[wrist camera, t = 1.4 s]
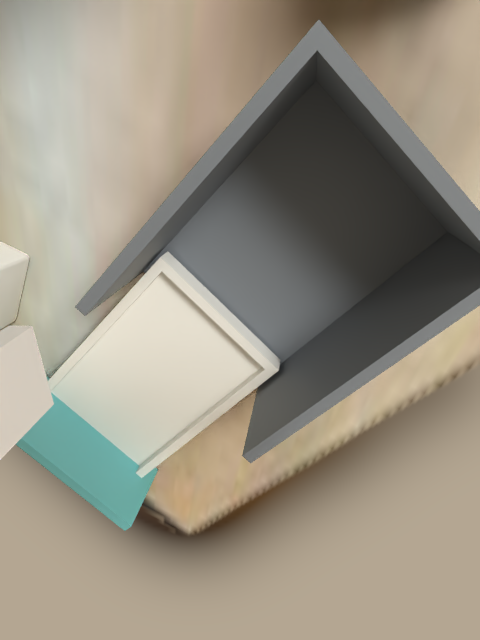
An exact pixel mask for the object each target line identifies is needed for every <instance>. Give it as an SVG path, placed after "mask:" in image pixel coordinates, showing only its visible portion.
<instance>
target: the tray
mask: <svg viewBox="0 0 480 640" xmlns="http://www.w3.org/2000/svg"><path fill="white" fill-rule="evenodd" d="M279 366H280V359H279V358H278V357H277V356H276V355H275V354H274V353H273V352H272V351H271V350H270V349H269V348H268V347H267V346H266V345H265V344H263V343H262V342H261V341H260V340H259V339H258V338H257V337H256V336H255V335H254V334H253V333H252V332H251V331H250V330H249V329H248V328H247V327H246V326H245V325H244V324H243V323H242V322H241V321H240V320H239V319H238V318H237V317H236V316H235V315H233V314H232V313H231V312H230V311H229V310H228V309H227V308H226V307H225V306H224V305H223V304H222V303H221V302H220V301H219V300H218V299H217V298H216V297H215V296H214V295H213V294H212V293H211V292H210V291H209V290H208V289H207V288H206V287H204V286H203V285H202V284H201V283H200V282H199V281H198V280H197V279H196V278H195V277H194V276H193V275H192V274H191V273H190V272H189V271H188V270H187V269H186V268H185V267H184V266H183V265H182V264H181V263H180V262H179V261H178V260H177V259H176V258H174V257H173V256H172V255H171V254H170V253H169V252H166V253H165V254H164V255H162V256H161V257H160V258H159V259H158V260H157V261H156V262H155V264H154V265H153V266H152V267H151V268H150V269H149V270H148V271H147V272H146V273H145V275H144V276H143V277H142V278H141V279H140V280H139V281H138V282H137V283H136V284H135V286H134V287H133V288H132V289H131V290H130V291H129V292H128V293H127V294H126V295H125V297H124V298H123V299H122V300H121V301H120V302H119V303H118V304H117V305H116V306H115V308H114V309H113V310H112V311H111V312H110V313H109V314H108V315H107V316H106V317H105V319H104V320H103V321H102V322H101V323H100V324H99V325H98V326H97V327H96V328H95V330H94V331H93V332H92V333H91V334H90V335H89V336H88V337H87V338H86V340H85V341H84V342H83V343H82V344H81V345H80V346H79V347H78V348H77V349H76V351H75V352H74V353H73V354H72V355H71V356H70V357H69V358H68V359H67V360H66V362H65V363H64V364H63V365H62V366H61V367H60V368H59V369H58V370H57V371H56V373H55V374H54V375H53V376H52V377H51V378H48V377H47V376H46V377H47V380H48V384H49V388H50V391H51V395H52V398H53V402H54V405H53V406H52V407H51V408H50V409H49V410H48V411H47V412H46V413H45V414H44V415H43V416H42V417H41V418H40V419H39V420H38V421H37V422H36V423H35V424H34V425H33V426H32V428H31V429H30V430H29V431H28V432H27V433H26V434H25V435H24V436H23V437H22V438H21V439H20V440H19V441H18V442H17V443H16V445H17V446H18V447H20V448H21V449H22V450H23V451H25V452H26V453H27V454H28V455H30V456H31V457H32V458H33V459H35V460H36V461H37V462H38V463H40V464H41V465H42V466H44V467H45V468H46V469H47V470H49V471H50V472H51V473H52V474H54V475H55V476H56V477H57V478H59V479H60V480H61V481H62V482H64V483H65V484H66V485H67V486H69V487H70V488H71V489H73V490H74V491H75V492H76V493H78V494H79V495H80V496H81V497H83V498H84V499H85V500H86V501H88V502H89V503H90V504H91V505H93V506H94V507H95V508H96V509H98V510H99V511H100V512H102V513H103V514H104V515H105V516H107V517H108V518H109V519H110V520H112V521H113V522H114V523H115V524H117V525H118V526H119V527H121V528H122V529H123V530H124V531H125V530H127V529H128V528H130V527H131V526H132V524H133V522H134V520H135V517H136V515H137V513H138V511H139V509H140V507H141V505H142V503H143V501H144V499H145V496H146V494H147V492H148V490H149V488H150V486H151V484H152V482H153V480H154V477H155V475H156V473H157V471H158V469H157V468H156V466H158V465H159V464H160V463H162V462H163V461H164V460H165V459H167V458H168V457H169V456H170V455H172V454H173V453H174V452H176V451H177V450H178V449H179V448H181V447H182V446H183V445H184V444H186V443H187V442H188V441H190V440H191V439H192V438H193V437H195V436H196V435H197V434H198V433H200V432H201V431H202V430H204V429H205V428H206V427H207V426H209V425H210V424H211V423H213V422H214V421H215V420H216V419H218V418H219V417H220V416H221V415H223V414H224V413H225V412H227V411H228V410H229V409H230V408H232V407H233V406H234V405H235V404H237V403H238V402H239V401H241V400H242V399H243V398H244V397H246V396H247V395H248V394H249V393H251V392H252V391H253V390H255V389H256V388H257V387H258V386H260V385H261V384H262V383H263V382H265V381H266V380H267V379H269V378H270V377H271V376H272V375H274V374H275V373H276V372H278V371H279Z"/></svg>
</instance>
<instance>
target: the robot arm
mask: <svg viewBox="0 0 480 640" xmlns="http://www.w3.org/2000/svg"><path fill="white" fill-rule="evenodd" d="M53 405H54V402H53V398H52V395H51V391H50V388H49V384H48V380H47V377H46V373H45V370H44V366H43V362H42V359H41V355H40V352H39V348H38V344H37V341H36V337H35V334H34V330H33V326H10V325H9V326H8V327H6V328H4V329H3V330H1V331H0V460H1V459H2V458H3V457H4V456H5V455H6V453H7V452H8V451H9V450H10V449H11V448H12V447H13V446H14V445H15V444H16V443H17V442H18V441H19V440H20V439H21V438H22V437H23V436H24V435H25V434H26V433H27V432H28V431H29V430H30V429H31V428H32V426H33V425H34V424H35V423H36V422H37V421H38V420H39V419H40V418H41V417H42V416H43V415H44V414H45V413H46V412H47V411H48V410H49V409H50V408H51V407H52V406H53Z"/></svg>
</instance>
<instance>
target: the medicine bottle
mask: <svg viewBox="0 0 480 640" xmlns="http://www.w3.org/2000/svg"><path fill="white" fill-rule="evenodd" d="M29 259H30V258H29V255H28V254H26V253H24V252H22V251H20V250H18V249H16V248H14V247H12V246H9V245H7V244H5V243H3V242H1V241H0V329H2V328H4V327H5V326H7V325H9V324H10V323H12V322H14V321H15V320H16V318H17V314H18V309H19V304H20V300H21V295H22V291H23V286H24V282H25V277H26V273H27V268H28V264H29Z"/></svg>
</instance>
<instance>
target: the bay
mask: <svg viewBox="0 0 480 640" xmlns="http://www.w3.org/2000/svg"><path fill="white" fill-rule="evenodd" d="M166 252H169V253H170V254H171V255H172V256H173V257H174V258H176V259H177V260H178V261H179V262H180V263H181V264H182V265H183V266H184V267H185V268H186V269H187V270H188V271H189V272H190V273H191V274H192V275H193V276H194V277H195V278H196V279H197V280H198V281H199V282H200V283H201V284H202V285H203V286H204V287H206V288H207V289H208V290H209V291H210V292H211V293H212V294H213V295H214V296H215V297H216V298H217V299H218V300H219V301H220V302H221V303H222V304H223V305H224V306H225V307H226V308H227V309H228V310H229V311H230V312H231V313H232V314H233V315H235V316H236V317H237V318H238V319H239V320H240V321H241V322H242V323H243V324H244V325H245V326H246V327H247V328H248V329H249V330H250V331H251V332H252V333H253V334H254V335H255V336H256V337H257V338H258V339H259V340H260V341H261V342H262V343H263V344H265V345H266V346H267V347H268V348H269V349H270V350H271V351H272V352H273V353H274V354H275V355H276V356H277V357H278V358H279V359H280V366H279V371H278V372H276V373H275V374H274V375H272V376H271V377H270V378H269V379H267V380H266V381H265V382H263V383H262V384H261V385H260V386H258V389H257V393H256V398H255V402H254V407H253V411H252V415H251V420H250V424H249V428H248V433H247V437H246V442H245V446H244V450H243V455H242V456H243V457H244V458H245V459H246V460H247V461H249V462H250V463H252V462H253V461H255V460H256V459H257V458H259V457H260V456H262V455H263V454H265V453H266V452H268V451H269V450H270V449H272V448H273V447H275V446H276V445H278V444H279V443H281V442H282V441H284V440H285V439H286V438H288V437H289V436H291V435H292V434H294V433H295V432H297V431H298V430H300V429H301V428H302V427H304V426H305V425H307V424H308V423H310V422H311V421H313V420H314V419H315V418H317V417H318V416H320V415H321V414H323V413H324V412H326V411H327V410H329V409H330V408H331V407H333V406H334V405H336V404H337V403H339V402H340V401H342V400H343V399H344V398H346V397H347V396H349V395H350V394H352V393H353V392H355V391H356V390H358V389H359V388H360V387H362V386H363V385H365V384H366V383H368V382H369V381H371V380H372V379H373V378H375V377H376V376H378V375H379V374H381V373H382V372H384V371H385V370H387V369H388V368H389V367H391V366H392V365H394V364H395V363H397V362H398V361H400V360H401V359H403V358H404V357H405V356H407V355H408V354H410V353H411V352H413V351H414V350H416V349H417V348H418V347H420V346H421V345H423V344H424V343H426V342H427V341H429V340H430V339H432V338H433V337H434V336H436V335H437V334H439V333H440V332H442V331H443V330H445V329H446V328H447V327H449V326H450V325H452V324H453V323H455V322H456V321H458V320H459V319H461V318H462V317H463V316H465V315H466V314H468V313H469V312H471V311H472V310H474V309H475V308H477V307H478V306H479V305H480V211H479V210H478V209H477V208H476V206H475V205H474V204H473V203H472V202H471V200H470V199H469V198H468V197H467V196H466V194H465V193H464V192H463V191H462V190H461V189H460V187H459V186H458V185H457V184H456V183H455V181H454V180H453V179H452V178H451V177H450V175H449V174H448V173H447V172H446V171H445V169H444V168H443V167H442V166H441V165H440V163H439V162H438V161H437V160H436V159H435V157H434V156H433V155H432V154H431V153H430V152H429V150H428V149H427V148H426V147H425V146H424V144H423V143H422V142H421V141H420V140H419V138H418V137H417V136H416V135H415V134H414V132H413V131H412V130H411V129H410V128H409V126H408V125H407V124H406V123H405V122H404V120H403V119H402V118H401V117H400V116H399V114H398V113H397V112H396V111H395V110H394V109H393V107H392V106H391V105H390V104H389V103H388V101H387V100H386V99H385V98H384V97H383V95H382V94H381V93H380V92H379V91H378V89H377V88H376V87H375V86H374V85H373V83H372V82H371V81H370V80H369V79H368V77H367V76H366V75H365V74H364V73H363V71H362V70H361V69H360V68H359V67H358V66H357V64H356V63H355V62H354V61H353V60H352V58H351V57H350V56H349V55H348V54H347V52H346V51H345V50H344V49H343V48H342V46H341V45H340V44H339V43H338V42H337V40H336V39H335V38H334V37H333V36H332V34H331V33H330V32H329V31H328V30H327V29H326V27H325V26H324V25H323V24H322V23H321V21H320V20H318V21H317V22H316V23H315V24H314V26H313V27H312V28H311V29H310V30H309V31H308V33H307V34H306V35H305V36H304V37H303V39H302V40H301V41H300V42H299V43H298V44H297V46H296V47H295V48H294V49H293V50H292V52H291V53H290V54H289V55H288V56H287V57H286V59H285V60H284V61H283V62H282V63H281V64H280V66H279V67H278V68H277V69H276V70H275V72H274V73H273V74H272V75H271V76H270V77H269V79H268V80H267V81H266V82H265V83H264V85H263V86H262V87H261V88H260V89H259V90H258V92H257V93H256V94H255V95H254V96H253V98H252V99H251V100H250V101H249V102H248V103H247V105H246V106H245V107H244V108H243V109H242V110H241V112H240V113H239V114H238V115H237V116H236V118H235V119H234V120H233V121H232V122H231V123H230V125H229V126H228V127H227V128H226V129H225V131H224V132H223V133H222V134H221V135H220V136H219V138H218V139H217V140H216V141H215V142H214V144H213V145H212V146H211V147H210V148H209V149H208V151H207V152H206V153H205V154H204V155H203V156H202V158H201V159H200V160H199V161H198V162H197V164H196V165H195V166H194V167H193V168H192V169H191V171H190V172H189V173H188V174H187V175H186V177H185V178H184V179H183V180H182V181H181V182H180V184H179V185H178V186H177V187H176V188H175V190H174V191H173V192H172V193H171V194H170V195H169V197H168V198H167V199H166V200H165V201H164V202H163V204H162V205H161V206H160V207H159V208H158V210H157V211H156V212H155V213H154V214H153V215H152V217H151V218H150V219H149V220H148V221H147V223H146V224H145V225H144V226H143V227H142V228H141V230H140V231H139V232H138V233H137V234H136V236H135V237H134V238H133V239H132V240H131V241H130V243H129V244H128V245H127V246H126V247H125V248H124V250H123V251H122V252H121V253H120V254H119V256H118V257H117V258H116V259H115V260H114V261H113V263H112V264H111V265H110V266H109V267H108V269H107V270H106V271H105V272H104V273H103V274H102V276H101V277H100V278H99V279H98V280H97V282H96V283H95V284H94V285H93V286H92V287H91V289H90V290H89V291H88V292H87V293H86V294H85V296H84V297H83V298H82V299H81V300H80V302H79V303H78V304H77V305H76V306H75V308H77V309H78V310H79V311H80V312H81V313H82V314H83V315H84V316H85V315H87V314H88V313H89V312H91V311H92V310H93V309H95V308H96V307H97V306H99V305H100V304H101V303H103V302H104V301H105V300H106V299H108V298H109V297H110V296H112V295H113V294H114V293H116V292H117V291H118V290H120V289H121V288H122V287H124V286H125V285H126V284H127V283H129V282H130V281H131V280H133V279H134V278H135V277H137V276H138V275H139V274H141V273H142V272H144V273H146V272H147V271H148V270H149V269H150V268H151V267H152V266H153V265H154V264H155V262H156V261H157V260H158V259H159V258H160V257H161V256H162V255H164V254H165V253H166Z"/></svg>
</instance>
